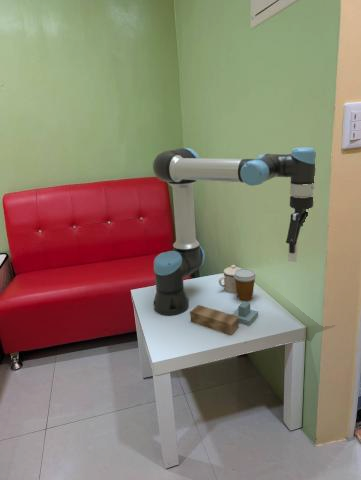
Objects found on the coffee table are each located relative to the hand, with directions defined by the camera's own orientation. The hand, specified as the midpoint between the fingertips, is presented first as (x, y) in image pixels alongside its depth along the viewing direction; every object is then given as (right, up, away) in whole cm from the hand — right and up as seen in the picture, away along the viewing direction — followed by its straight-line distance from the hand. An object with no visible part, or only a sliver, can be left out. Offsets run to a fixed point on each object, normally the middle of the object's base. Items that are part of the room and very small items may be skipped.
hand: (298, 254), depth 124 cm
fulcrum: (-17, -26, +15) cm, 34 cm away
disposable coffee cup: (-14, -20, +30) cm, 39 cm away
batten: (-29, -28, +12) cm, 42 cm away
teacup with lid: (-19, -18, +38) cm, 46 cm away
